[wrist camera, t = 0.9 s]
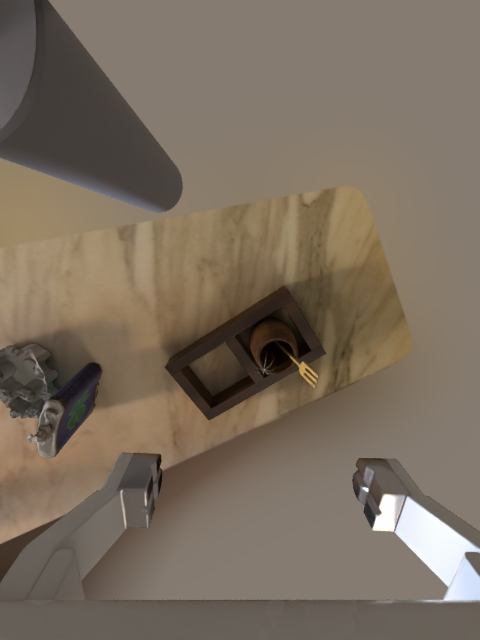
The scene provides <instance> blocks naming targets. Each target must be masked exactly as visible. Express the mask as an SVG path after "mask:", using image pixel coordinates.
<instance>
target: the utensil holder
mask: <svg viewBox="0 0 480 640" xmlns="http://www.w3.org/2000/svg"><path fill="white" fill-rule="evenodd" d="M250 346H251V351H252V355H253V357H254V359H255V360H256V362H257V366H259V367H260V368H261V369H260V370H263V374H264V372H265V373H266V374H267V373H268V375H269V374H270V375H282V374H285V373H287V372H289V371H290V370H291V369H292V368H293V367H294V366H295V364H297V365H298V366H299V369H300V374H301V375H302V376H303V377H304V378H305V379H306V380H307V381H308V382H309V383H310V384H311V385H312V386H313V387H314V388H316V385H315V384H314V383H313V382H312V381H311V380H310V379H309V378H308V376H309V377H310V378H311V379H312V380H313V381H314V382H315V383H317V382H318V381H317V379H316V378H315V377H314V376H313V375H312V374H311V373H310V372H309V371H311V372H312V373H313V374H314V375H315V376H316V377H317V378H318V377H319V375H318V374H317V373H316V372H315V371H314V370H313V369H312V368H311V367H310V366H309V365H308V364H307V363H306V362H302V363H300V362H299V361H298V349H297V343H296V340H295V337H294V335H293V333H292V332H291V330H290V329H289V327H288V326H287V325H286V324H285V323H284V322H283V321H281V320H280V319H277V318H265V319H262V320H260V321H258V322H257V323H256V324H255V325H254V326H253V328H252V330H251V333H250ZM254 365H255V361H254ZM255 367H256V366H255ZM258 369H259V368H258ZM307 369H308V370H309V371H308V370H307ZM256 372H257V367H256ZM261 372H262V371H261ZM257 373H260V372H257ZM306 374H307V375H308V376H307V375H306Z"/></svg>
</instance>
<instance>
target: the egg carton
mask: <svg viewBox="0 0 480 640" xmlns="http://www.w3.org/2000/svg"><path fill="white" fill-rule="evenodd" d="M50 356H51V353H50V352H49V350H46V349H44V348H42V347H40V346H39V345H38V344H33V343H32V344H30V345H28V346H26V347H24V348H22V349H17V347H16V346H14V345H12V346H11V345H10V346H7V347H5V348H3V349H1V350H0V399H1V400H2V402H3V403H4V404H6V406H7V408H9V409H11V411H10V416H12V418H16V417H18V416H21V418H22V419H23V418H26V417H29V418H34V417H35V418H39V417H40V414H41V412H42V409H43V407H44V404H45V402H46V401H47V400H48V399H49V398H50V397H51V396H53V395H54V394H55V393H56V392H57V391H59V389H58V388H55V387H54V385H53V380H54V379H56V378H57V377H58V374H57V371H55V370H51V369H50V368H49V367H48V366H47V365H46V363H45V362H46V359H47V358H48V357H50Z"/></svg>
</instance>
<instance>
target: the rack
mask: <svg viewBox="0 0 480 640" xmlns="http://www.w3.org/2000/svg"><path fill="white" fill-rule="evenodd" d="M281 307H284V308H285V310H286V312H287V313H288V315H289V316H290V318H291V320H292V321H293V323H294V325H295V326H296V328H297V329H298V331H299V333H300V334H301V336H302V338H303V339H304V341H305V342H306V343H304V344H302V345H301V346H299V347H297V349H298V361H299V362H300V363H302V362H306V363H307V364H309V363H311V362H313V361H314V360H316V359H318V358H320V357H321V356H323V355H325V354H326V352H325V351H324V349H323V347H322V346H321V344H320V342H319V341H318V339H317V337H316V336H315V334H314V332H313V331H312V329H311V327H310V326H309V324H308V322H307V321H306V319H305V317H304V316H303V314H302V312H301V311H300V309H299V307H298V306H297V304H296V302H295V301H294V299H293V297H292V296H291V294H290V292H289V291H288V290H287V289H286V288H285V287H284V286H283V287H281V288H280V289H278V290H277V291H275V292H273V293H272V294H270V295H269V296H267V297H265V298H264V299H262V300H261V301H259V302H258V303H256V304H254V305H253V306H251V307H250V308H248V309H247V310H245V311H243V312H242V313H240V314H239V315H237V316H235V317H234V318H232V319H231V320H229V321H228V322H226V323H224V324H223V325H221V326H220V327H218V328H217V329H215V330H213V331H212V332H210V333H209V334H207V335H205V336H204V337H202V338H201V339H199V340H198V341H196V342H194V343H193V344H191V345H190V346H188V347H187V348H185V349H183V350H182V351H180V352H179V353H177V354H175V355H174V356H172V357H171V358H170V359H169V361H168V363H167V364H166V366H165V368H166V370H167V371H168V372H169V373H170V374H171V375H172V377H173V378H174V379H175V381H176V382H177V383H178V384H179V385H180V386H181V388H182V389H183V390H184V391H185V392H186V394H187V395H188V396H189V397H190V398H191V400H192V401H193V402H194V403H195V404H196V406H197V407H198V408H199V409H200V410H201V412H202V413H203V414H204V415H205V416H206V418H207V419H208V420H211V419H213V418H214V417H216V416H218V415H220V414H221V413H223V412H225V411H227V410H228V409H230V408H232V407H234V406H235V405H237V404H239V403H241V402H242V401H244V400H246V399H248V398H249V397H251V396H253V395H255V394H256V393H258V392H260V391H262V390H263V389H265V388H267V387H269V386H270V385H272V384H274V383H276V382H277V381H279V380H281V379H283V378H284V377H286V376H288V375H290V374H291V373H293V372H295V371H297V370H298V369H299V366H298V365H297V364H295V366H294V367H293V368H292V369H291V370H290V371H289V372H287V373H285V374H282V375H270V374H269V375H268V373H267V374H266V373H265V372H264V374H263V370H260V369H261V368H260V367H259V366H257V362H256V360H255V359H254V357H253V355H252V353H251V352H250V350H249V349H248V347H247V346H246V344H245V343H244V342H243V340H242V339H241V337H240V336H239V333H241V332H242V331H244V330H245V329H247V328H249V327H250V326H252V325H253V324H255V323H257V322H258V321H260V320H262V319H263V318H265V317H266V316H268V315H270V314H271V313H273V312H274V311H276V310H278V309H279V308H281ZM224 342H226V344H227V345H228V347H229V348H230V349H231V351H232V352H233V353H234V355H235V356H236V358H237V359H238V360H239V362H240V363H241V364H242V366H243V367H244V369H245V370H246V371H247V373H248V374H249V376H248V377H246V378H244V379H243V380H241V381H239V382H237V383H236V384H234V385H232V386H231V387H229V388H227V389H226V390H224V391H222V392H220V393H219V394H217V395H215V396H214V397H213V396H212V395H211V394H210V392H209V391H208V390H207V389H206V387H205V386H204V385H203V384H202V382H201V381H200V380H199V379H198V377H197V376H196V375H195V374H194V372H193V371H192V370H191V369H190V367H189V366H188V365H189V364H191V363H192V362H194V361H195V360H197V359H199V358H200V357H202V356H203V355H205V354H207V353H208V352H210V351H212V350H213V349H215V348H216V347H218V346H220V345H221V344H223V343H224ZM254 361H255V365H254ZM255 366H256V367H257V372H260V373H257V372H256V367H255ZM258 368H259V369H258ZM261 371H262V372H261Z"/></svg>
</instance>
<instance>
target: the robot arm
mask: <svg viewBox="0 0 480 640" xmlns="http://www.w3.org/2000/svg"><path fill="white" fill-rule="evenodd" d="M160 465H161V454H150V453H125V452H123V453H122V454H121V455H120V456H119V458H118V459H117V461H116V463H115V465H114V467H113V469H112V471H111V473H110V475H109V476H108V478H107V480H106V482H105V484H104V486H103V488H102V490H97V491H96V492H94V493H93V494H92V495H91V496H89V497H88V498H87V499H85V500H84V501H83V502H82V503H80V504H79V505H78V506H76V507H75V508H74V509H73V510H71V511H70V512H69V513H68V514H66V515H65V516H64V517H62V518H61V519H60V520H59V521H57V522H56V523H55V524H53V525H52V526H51V527H50V528H48V529H47V530H46V531H45V532H43V533H42V534H41V535H40V536H38V537H37V538H36V539H34V540H33V541H32V542H31V543H29V544H28V545H27V546H25V548H24V549H23V550H22V552H21V553H20V555H19V556H18V558H17V559H16V561H15V562H14V563H13V565H12V566H11V568H10V569H9V571H8V572H7V574H6V575H5V577H4V578H3V580H2V581H1V583H0V640H480V531H478V530H477V529H476V528H474V527H473V526H471V525H470V524H468V523H467V522H465V521H464V520H462V519H461V518H460V517H458V516H457V515H455V514H454V513H452V512H451V511H450V510H448V509H446V508H445V507H444V506H442V505H441V504H439V503H438V502H437V501H435V500H434V499H432V498H431V497H429V496H425V495H424V494H423V493H422V492H421V490H420V489H419V488H418V486H417V485H416V484H415V482H414V481H413V480H412V479H411V477H410V476H409V474H408V473H407V472H406V470H405V469H404V468H403V466H402V465H401V464H400V462H399V461H398V460H396V459H381V458H378V459H377V458H359V459H358V460H357V463H356V467H357V468H358V470H357V471H356V472H355V473H354V475H353V480H352V481H353V489H354V492H355V495H356V497H357V499H358V501H359V502H361V503H362V504H363V505H364V506H365V507H364V514H365V516H366V518H367V520H368V522H369V524H370V526H371V528H372V530H379V531H395V533H396V534H397V535H398V536H399V537H400V538H401V539H402V540H403V541H404V542H405V543H406V544H407V546H409V548H410V549H411V550H412V551H413V552H414V553H415V554H416V555H417V556H418V557H419V558H420V559H421V560H422V561H423V562H424V563H425V564H426V565H427V566H428V567H429V568H430V569H431V570H432V571H433V572H434V573H435V574H436V575H437V576H438V577H439V578H440V579H441V580H442V581H443V582H444V583H445V584H446V585H447V586H448V590H447V592H446V594H445V596H444V598H443V600H85V596H84V591H83V586H82V582H81V581H82V579H83V578H84V577H85V576H86V574H88V572H89V571H90V570H91V569H92V568H93V566H94V565H95V564H96V563H97V562H98V561H99V560H100V559H101V557H102V556H103V555H104V554H105V553H106V551H107V550H108V549H109V548H110V547H111V546H112V545H113V543H114V542H115V541H116V540H117V539H118V538H119V536H120V535H121V534H122V533H123V532H124V530H125V528H149V526H150V523H151V520H152V516H153V513H154V510H155V507H154V501H155V500H156V499H157V498H158V495H159V492H160V488H161V482H162V469H161V468H160Z"/></svg>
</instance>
